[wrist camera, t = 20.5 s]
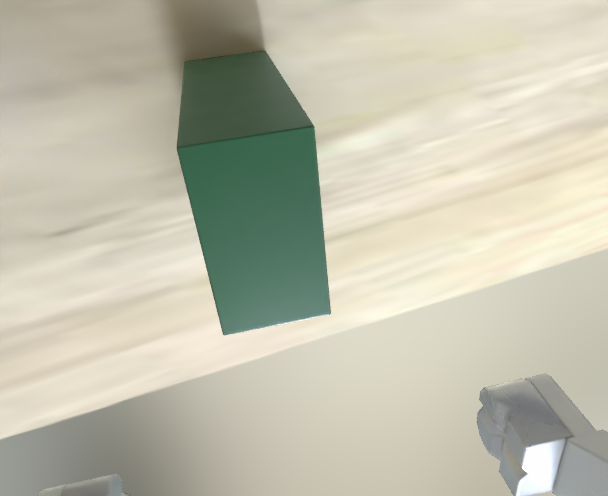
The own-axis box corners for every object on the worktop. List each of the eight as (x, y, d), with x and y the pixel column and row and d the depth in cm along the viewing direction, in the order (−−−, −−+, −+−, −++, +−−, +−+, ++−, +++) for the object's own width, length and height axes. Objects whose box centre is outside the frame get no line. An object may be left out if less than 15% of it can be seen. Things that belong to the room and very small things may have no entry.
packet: (332, 314, 23) (315, 125, 18) (222, 336, 22) (174, 147, 17) (283, 182, 35) (266, 50, 31) (212, 194, 35) (183, 61, 30)
